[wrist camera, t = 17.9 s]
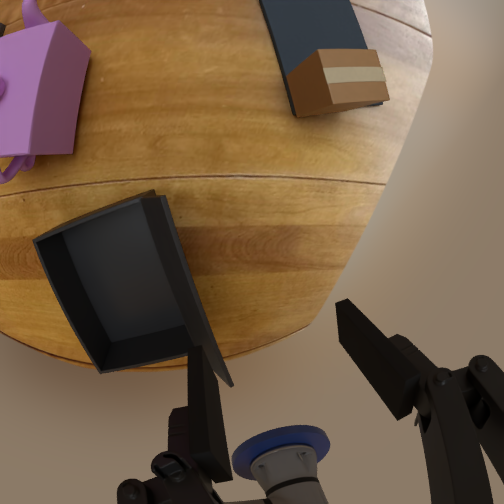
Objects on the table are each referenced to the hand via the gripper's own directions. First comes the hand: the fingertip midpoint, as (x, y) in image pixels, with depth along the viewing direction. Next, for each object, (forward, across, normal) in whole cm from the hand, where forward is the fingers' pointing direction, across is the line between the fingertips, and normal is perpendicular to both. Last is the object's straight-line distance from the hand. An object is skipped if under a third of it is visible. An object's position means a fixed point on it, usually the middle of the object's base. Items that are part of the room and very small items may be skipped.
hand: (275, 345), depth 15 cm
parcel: (+18, +13, +14) cm, 27 cm away
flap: (+9, -5, 0) cm, 11 cm away
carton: (+19, -13, 0) cm, 23 cm away
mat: (+19, +16, +22) cm, 33 cm away
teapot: (+19, -16, +24) cm, 35 cm away
